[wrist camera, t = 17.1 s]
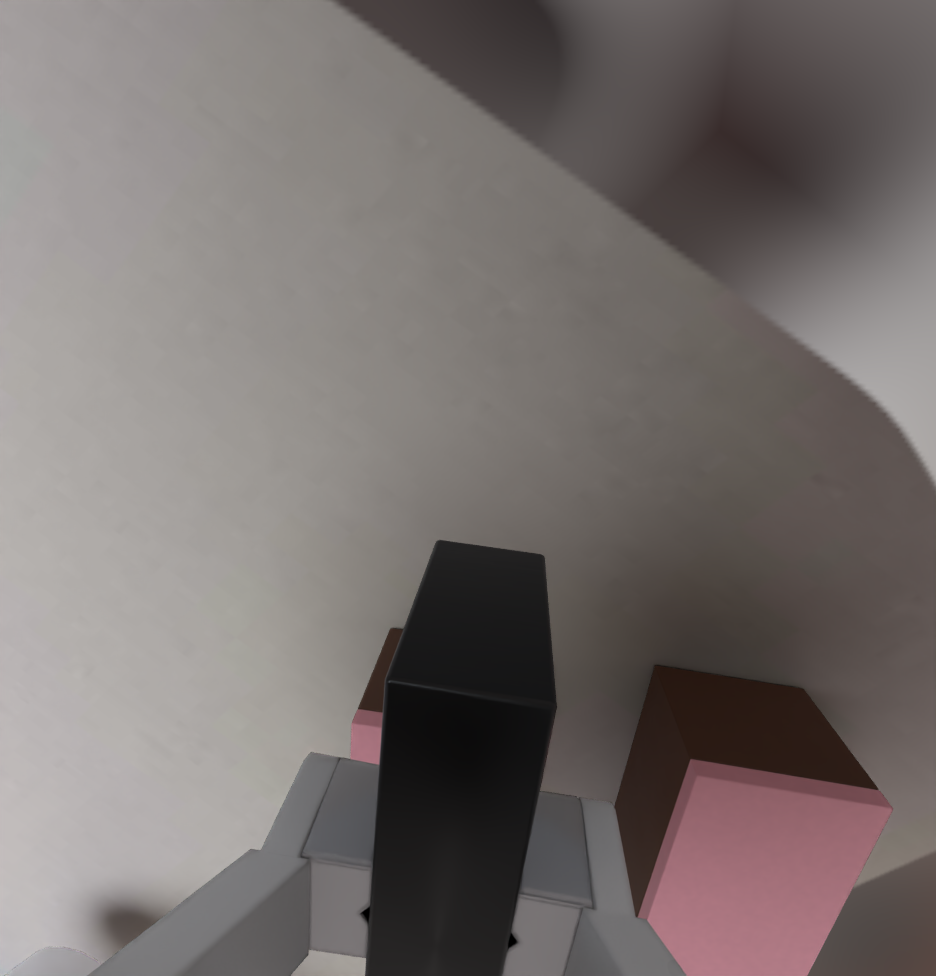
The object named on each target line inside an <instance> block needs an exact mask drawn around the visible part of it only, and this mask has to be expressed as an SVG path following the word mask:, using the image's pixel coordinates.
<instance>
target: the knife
mask: <svg viewBox="0 0 936 976" xmlns="http://www.w3.org/2000/svg"><path fill="white" fill-rule="evenodd" d="M556 709H557V702H556V690H555V678H554V665H553V653H552V641H551V629H550V616H549V604H548V592H547V579H546V567H545V558H544V556H543V555H541V554H535V553H528V552H521V551H514V550H507V549H500V548H493V547H486V546H479V545H472V544H465V543H458V542H450V541H443V540H438V541H437V542H436V543H435V546H434V548H433V551H432V554H431V556H430V559H429V562H428V565H427V567H426V570H425V573H424V575H423V578H422V581H421V583H420V586H419V589H418V592H417V594H416V597H415V600H414V602H413V605H412V608H411V610H410V613H409V616H408V619H407V621H406V624H405V627H404V629H403V632H402V635H401V637H400V640H399V643H398V646H397V648H396V651H395V654H394V656H393V659H392V662H391V664H390V667H389V670H388V673H387V675H386V678H385V685H384V700H383V715H382V730H381V745H380V760H379V775H378V790H377V805H376V820H375V835H374V850H373V865H372V880H371V895H370V910H369V925H368V941H367V956H366V971H365V976H502V973H503V968H504V963H505V959H506V954H507V949H508V944H509V939H510V934H511V929H512V924H513V919H514V914H515V910H516V905H517V900H518V895H519V890H520V885H521V880H522V875H523V870H524V865H525V861H526V856H527V851H528V846H529V841H530V836H531V831H532V826H533V821H534V816H535V811H536V807H537V802H538V797H539V792H540V787H541V782H542V777H543V772H544V767H545V762H546V758H547V753H548V748H549V743H550V738H551V733H552V728H553V723H554V718H555V713H556Z"/></svg>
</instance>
